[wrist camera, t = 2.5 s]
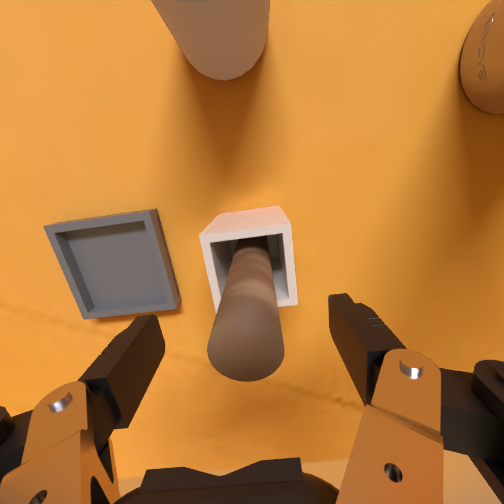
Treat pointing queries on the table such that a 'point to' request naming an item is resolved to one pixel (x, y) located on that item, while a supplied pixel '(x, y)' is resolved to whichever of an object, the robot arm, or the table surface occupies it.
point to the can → (218, 33)
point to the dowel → (247, 317)
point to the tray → (116, 264)
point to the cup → (244, 226)
